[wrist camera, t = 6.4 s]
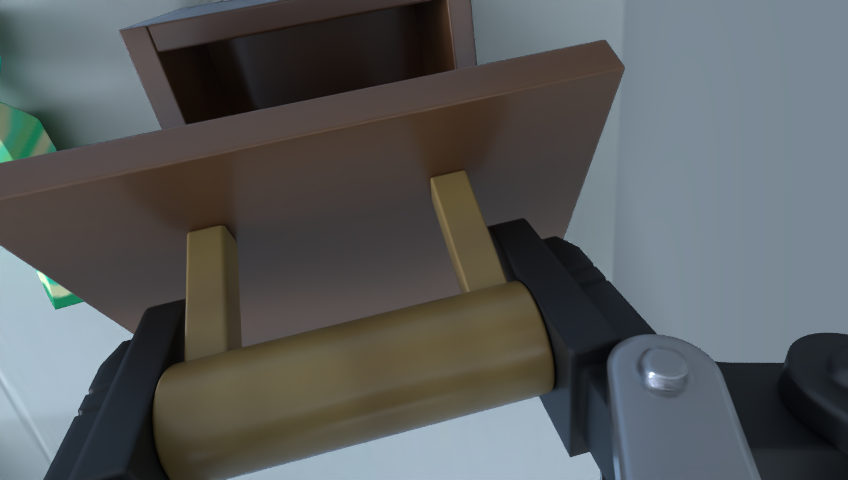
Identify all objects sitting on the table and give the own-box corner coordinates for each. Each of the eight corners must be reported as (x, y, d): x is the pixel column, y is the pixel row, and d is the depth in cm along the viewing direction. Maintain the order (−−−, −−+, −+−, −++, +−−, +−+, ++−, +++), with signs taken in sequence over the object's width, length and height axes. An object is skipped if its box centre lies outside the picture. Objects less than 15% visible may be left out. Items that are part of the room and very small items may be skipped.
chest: (177, 9, 20) (117, 30, 14) (424, -37, 21) (468, -36, 15) (297, 326, 30) (292, 424, 23) (467, 285, 30) (506, 368, 24)
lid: (-42, 169, 8) (-172, 539, 5) (605, 37, 8) (788, 291, 6) (291, 423, 23) (303, 544, 20) (506, 367, 24) (543, 476, 21)
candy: (-138, 31, 18) (-145, 30, 15) (-27, 11, 20) (-16, 8, 17) (43, 287, 24) (60, 319, 22) (115, 254, 26) (139, 279, 24)
